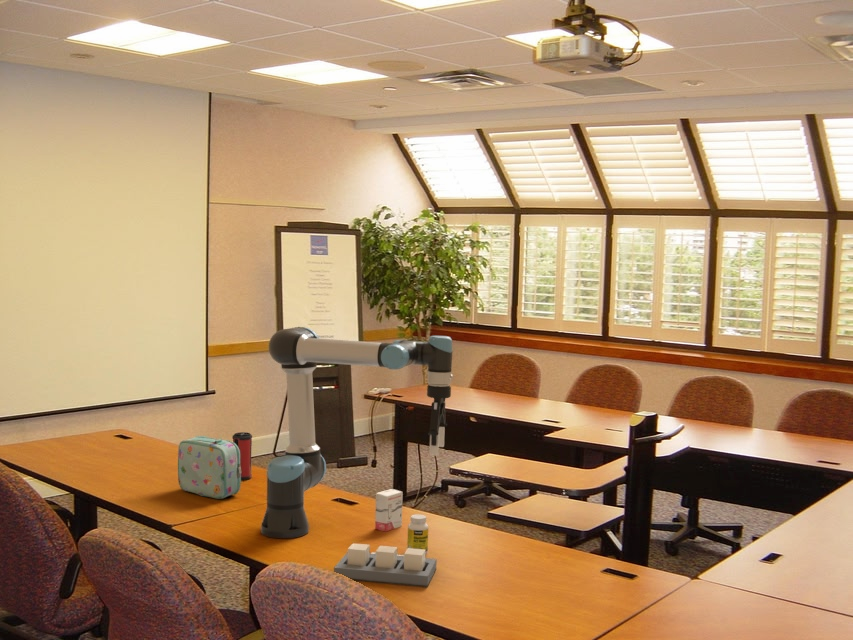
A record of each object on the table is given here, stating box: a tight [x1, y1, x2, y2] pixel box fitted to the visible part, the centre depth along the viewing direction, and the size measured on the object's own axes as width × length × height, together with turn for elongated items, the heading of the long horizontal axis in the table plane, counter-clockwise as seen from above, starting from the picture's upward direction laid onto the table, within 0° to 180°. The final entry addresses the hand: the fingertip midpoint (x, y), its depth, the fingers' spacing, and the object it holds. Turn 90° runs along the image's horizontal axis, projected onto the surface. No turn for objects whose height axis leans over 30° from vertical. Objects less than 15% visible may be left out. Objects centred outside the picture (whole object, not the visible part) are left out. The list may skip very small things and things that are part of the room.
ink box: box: [374, 488, 404, 532], centre depth 281 cm, size 9×5×12 cm, turn 142°
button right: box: [403, 548, 426, 571], centre depth 236 cm, size 5×5×4 cm
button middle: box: [375, 545, 398, 568], centre depth 238 cm, size 5×5×4 cm
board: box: [333, 551, 437, 588], centre depth 238 cm, size 26×14×3 cm, turn 80°
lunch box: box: [177, 435, 242, 500], centre depth 316 cm, size 27×10×21 cm, turn 58°
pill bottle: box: [406, 514, 429, 555], centre depth 256 cm, size 6×6×11 cm
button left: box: [347, 543, 371, 566], centre depth 239 cm, size 5×5×4 cm
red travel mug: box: [231, 431, 253, 481], centre depth 340 cm, size 8×8×18 cm
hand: (436, 451), depth 272 cm, fingers open, 13 cm apart
